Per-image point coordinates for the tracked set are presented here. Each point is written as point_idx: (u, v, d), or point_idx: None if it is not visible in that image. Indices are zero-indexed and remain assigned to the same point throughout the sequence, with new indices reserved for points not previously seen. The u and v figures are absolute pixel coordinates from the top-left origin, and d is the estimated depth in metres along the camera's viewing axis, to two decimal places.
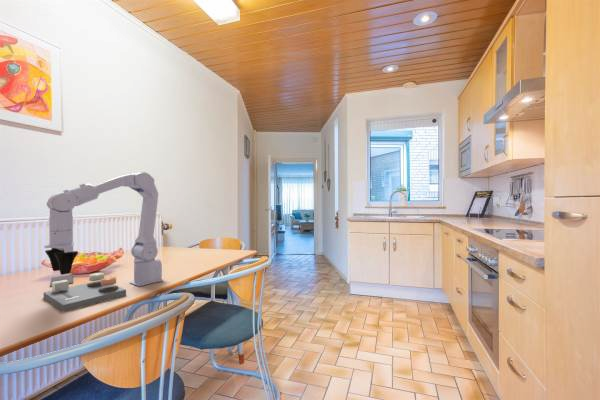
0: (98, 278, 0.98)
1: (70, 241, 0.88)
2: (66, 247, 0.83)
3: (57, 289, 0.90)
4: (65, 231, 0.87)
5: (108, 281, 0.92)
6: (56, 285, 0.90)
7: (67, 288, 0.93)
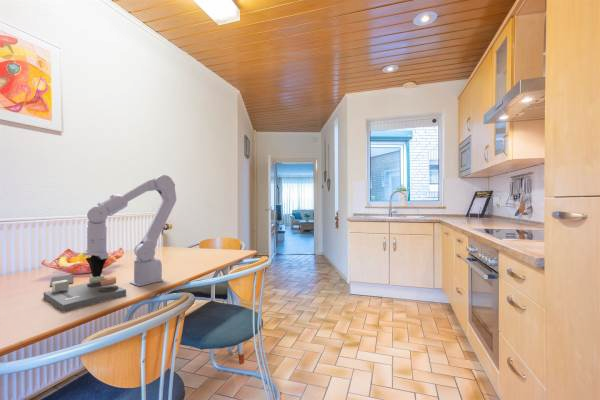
0: (98, 280, 0.98)
1: (104, 249, 1.00)
2: (103, 254, 0.95)
3: (57, 289, 0.90)
4: (100, 240, 0.98)
5: (108, 281, 0.92)
6: (56, 285, 0.90)
7: (67, 288, 0.93)
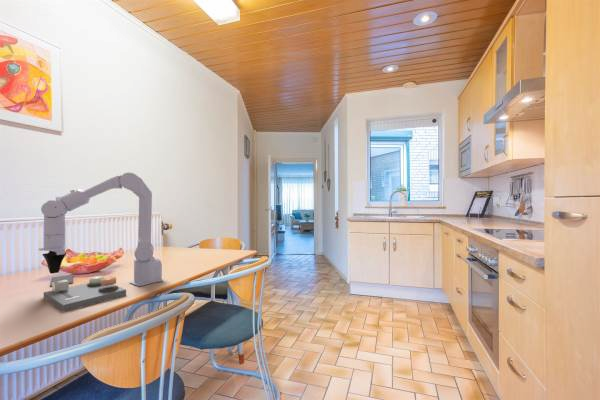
0: (98, 281, 0.98)
1: (62, 244, 0.96)
2: (58, 250, 0.91)
3: (57, 289, 0.90)
4: (57, 235, 0.94)
5: (108, 281, 0.92)
6: (56, 285, 0.90)
7: (67, 288, 0.93)
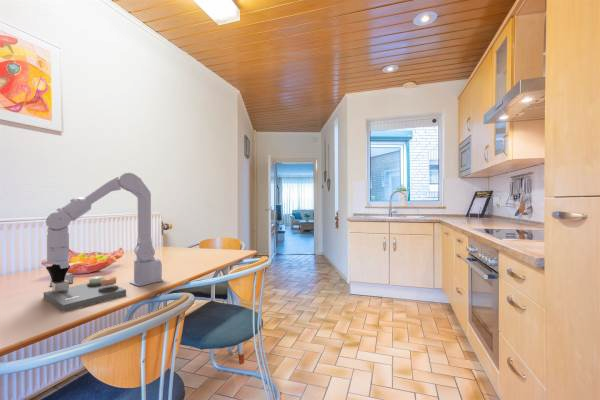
0: (98, 281, 0.98)
1: (66, 257, 0.94)
2: (62, 263, 0.89)
3: (58, 289, 0.90)
4: (61, 248, 0.92)
5: (108, 281, 0.92)
6: (56, 285, 0.90)
7: (67, 288, 0.92)
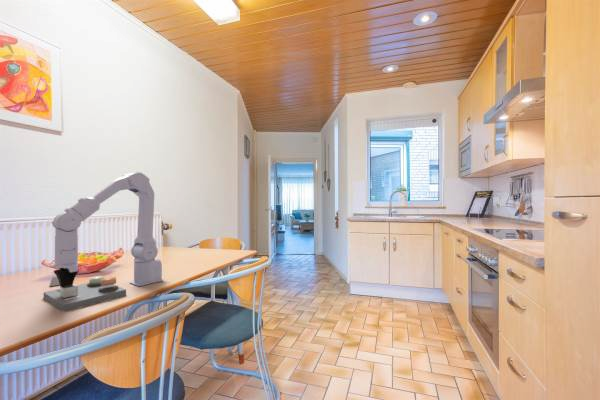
0: (98, 281, 0.98)
1: (75, 260, 0.89)
2: (71, 267, 0.84)
3: (66, 294, 0.86)
4: (70, 250, 0.87)
5: (108, 281, 0.92)
6: (65, 290, 0.85)
7: (76, 293, 0.88)
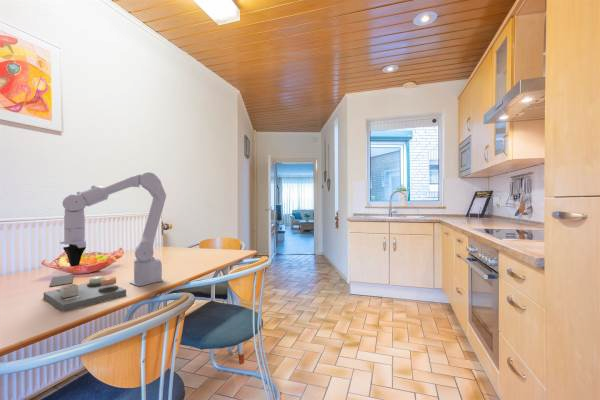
0: (98, 281, 0.98)
1: (82, 238, 0.98)
2: (80, 243, 0.93)
3: (66, 294, 0.86)
4: (78, 229, 0.97)
5: (108, 281, 0.92)
6: (65, 290, 0.85)
7: (76, 293, 0.88)
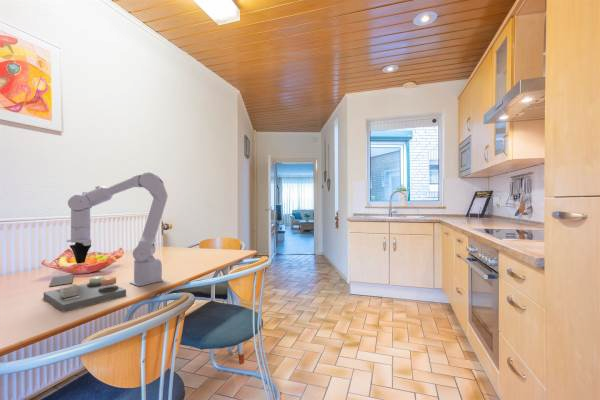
0: (98, 281, 0.98)
1: (88, 236, 1.02)
2: (85, 241, 0.97)
3: (66, 294, 0.86)
4: (84, 228, 1.01)
5: (108, 281, 0.92)
6: (65, 290, 0.85)
7: (76, 293, 0.88)
